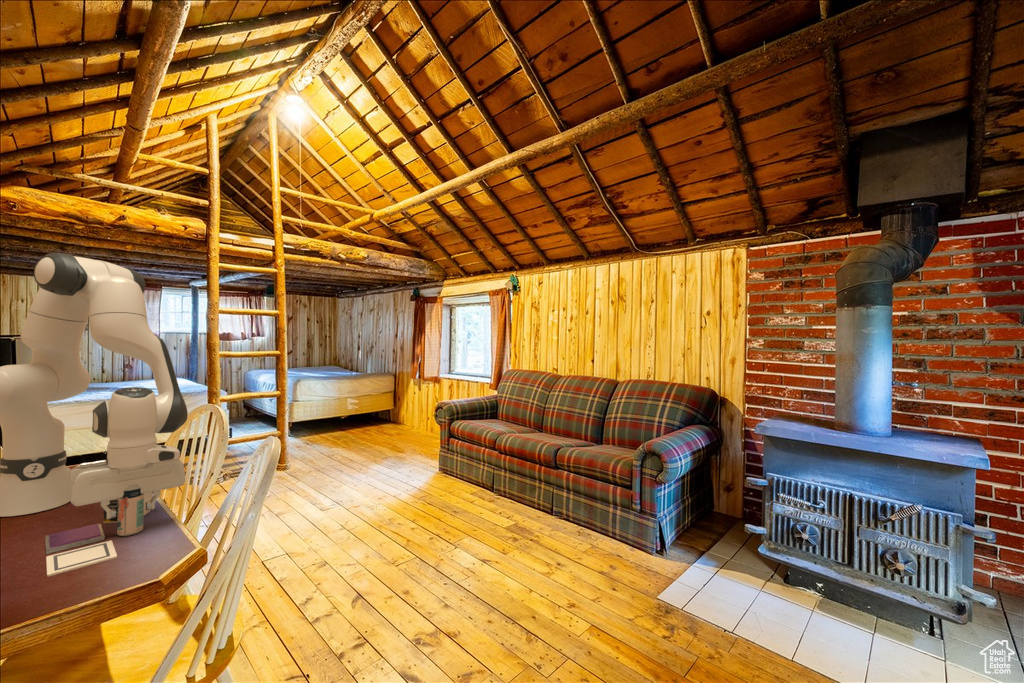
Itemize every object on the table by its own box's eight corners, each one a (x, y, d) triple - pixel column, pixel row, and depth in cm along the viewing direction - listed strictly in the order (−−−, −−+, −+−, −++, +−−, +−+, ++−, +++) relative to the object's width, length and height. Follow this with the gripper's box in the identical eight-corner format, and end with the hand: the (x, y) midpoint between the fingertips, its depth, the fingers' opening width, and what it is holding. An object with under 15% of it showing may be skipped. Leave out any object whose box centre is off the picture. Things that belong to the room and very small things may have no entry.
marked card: (46, 558, 88) (46, 556, 88) (111, 542, 96) (111, 539, 96) (47, 576, 81) (47, 574, 81) (117, 557, 89) (117, 555, 89)
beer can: (117, 531, 100) (118, 482, 100) (143, 526, 104) (145, 478, 104) (115, 539, 97) (117, 487, 97) (143, 533, 100) (144, 483, 100)
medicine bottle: (102, 524, 104) (103, 476, 104) (120, 512, 111) (121, 467, 111) (137, 521, 106) (138, 474, 106) (152, 510, 113) (153, 466, 113)
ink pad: (45, 540, 96) (45, 534, 96) (100, 527, 102) (100, 522, 102) (46, 554, 90) (46, 548, 90) (104, 539, 96) (104, 534, 96)
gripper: (70, 467, 90) (68, 531, 90) (187, 450, 106) (186, 505, 106) (68, 461, 95) (67, 522, 95) (181, 446, 110) (180, 498, 110)
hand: (131, 513), depth 100 cm, fingers open, 5 cm apart
